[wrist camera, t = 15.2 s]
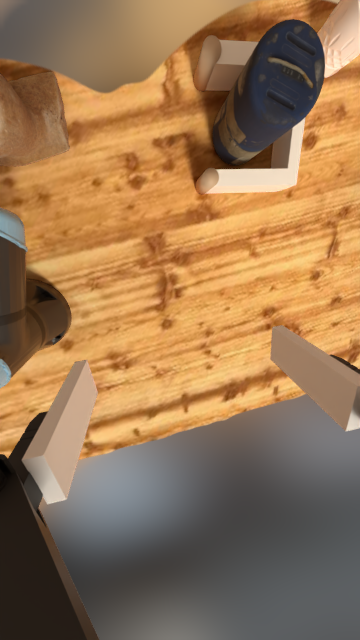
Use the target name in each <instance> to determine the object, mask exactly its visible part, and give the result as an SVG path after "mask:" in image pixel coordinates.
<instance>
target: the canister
mask: <svg viewBox="0 0 360 640" xmlns="http://www.w3.org/2000/svg"><path fill="white" fill-rule="evenodd" d="M324 74H325V55H324V50H323V46H322V43H321V41H320V38H319V36H318V35H317V33H316V32H315V31H314V29H313V28H312V27H311V26H310V25H308V24H307V23H305V22H303V21H300V20H294V19H292V20H285V21H282V22H280V23H278V24H276V25H275V26H273V27H272V28H271V29H270V30H268V31H267V32H266V34H265V35H264V36H263V37H262V38H261V40H260V41H259V43H258V44H257V46H256V47H255V49H254V51H253V52H252V54H251V56H250V58H249V59H248V61H247V63H246V64H245V66H244V68H243V70H242V71H241V73H240V75H239V77H238V78H237V80H236V82H235V83H234V85H233V87H232V89H231V91H230V93H229V95H228V97H227V98H226V100H225V102H224V104H223V106H222V107H221V109H220V111H219V113H218V115H217V117H216V119H215V122H214V126H213V144H214V148H215V150H216V152H217V154H218V156H219V157H220V158H221V159H222V160H223V161H224V162H226V163H227V164H230V165H241V164H244V163H246V162H248V161H249V160H250V159H252V158H253V157H254V156H256V155H257V154H258V153H260V152H261V151H262V150H264V149H265V148H267V147H268V146H269V145H271V144H272V143H273V142H274V141H276V140H277V139H278V138H280V137H281V136H282V135H284V134H285V133H286V132H288V131H289V130H290V129H292V128H293V127H294V126H296V125H297V124H298V123H300V122H301V121H302V120H303V119H304V118H305V117H306V116H307V114H308V113H309V112H310V111H311V109H312V108H313V106H314V104H315V103H316V101H317V99H318V96H319V94H320V91H321V88H322V85H323V81H324Z"/></svg>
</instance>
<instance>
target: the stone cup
mask: <svg viewBox="0 0 360 640" xmlns="http://www.w3.org/2000/svg"><path fill="white" fill-rule="evenodd" d="M69 149H70V147H69V144H68V133H67V127H66V120H65V117H64V105H63V101H62V97H61V93H60V89H59V87H58V83H57V79H56V77H55V75H54V73H52V72H46V73H40V74H36V75H32V76H27V77H23V78H20V79H18V80H15V81H9V82H8V81H7V80H6V79H5V78H4V77H3V76H2V75H1V74H0V165H3V166H23V165H27V164H31V163H34V162H37V161H40V160H43V159H46V158H49V157H52V156H54V155H57V154H60V153H63V152H66V151H68V150H69Z"/></svg>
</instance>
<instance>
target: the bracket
mask: <svg viewBox="0 0 360 640" xmlns="http://www.w3.org/2000/svg"><path fill="white" fill-rule="evenodd" d="M258 43H259V42H250V41H232V40H219V39H218V38H217V37H216V36H213V35H210V36H208V37H207V38H206V39H205V40H204V42H203V46H202V49H201V53H200V57H199V60H198V64H197V67H196V71H195V75H194V85H195V87H196V89H197V90H199V91H205V90H209V91H231V89H232V87H233V85H234V83H235V82H236V80H237V78H238V77H239V75H240V73H241V71H242V70H243V68H244V66H245V64H246V63H247V61H248V59H249V58H250V56H251V54H252V52H253V51H254V49H255V47H256V46H257V44H258ZM304 123H305V118H304V119H303V120H302V121H301V122H300V123H298V124H297V125H296V126H294V127H293V128H292V129H290V130H289V131H288V132H286V133H285V134H284V135H282V136H281V137H280V138H278V139H277V140H276V141H274V142H273V150H272V160H271V169H214V168H208V169H206V170H205V172H204V173H203V174H202V175H201V176H200V178H199V179H198V180H197V181H196V184H195V189H196V191H197V192H198V193H199V194H205V193H244V192H278V191H281V190H283V189H286V188H289V187H292V186H294V185H296V183H297V175H298V168H299V160H300V153H301V146H302V138H303V131H304Z"/></svg>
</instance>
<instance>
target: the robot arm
mask: <svg viewBox="0 0 360 640" xmlns="http://www.w3.org/2000/svg"><path fill="white" fill-rule="evenodd" d="M27 251H28V249H27V247H26V245H25V230H24V225H23V223H22V221H21V220H20V218H19V217H18V216H17V215H15V214H14V213H12V212H10V211H8V210H6V209H3V208H1V207H0V388H1V387H3V386H5V385H6V384H7V383H8V382H9V380H10V378H11V377H12V376H13V375H14V374H15V373H16V372H17V371H18V370H19V369H20V368H21V367H22V366H23V365H24V364H25V363H26V362H27V361H28V360H29V359H30V358H31V357H32V356H33V355H34V354H35V353H36V352H37V351H39V350H42V349H44V348H47V347H50V346H52V345H54V344H56V343H57V342H58V341H60V340H61V339H62V338H63V337H64V335H65V334H66V333H67V331H68V330H69V328H70V325H71V311H70V308H69V305H68V303H67V302H66V300H65V299H64V297H63V296H62V295H61V294H60V293H59V292H58V291H57V290H56V289H54V288H53V287H51V286H50V285H48V284H46V283H43V282H40V281H37V280H32V279H26V252H27ZM270 359H271V360H272V361H273V362H274V363H275V364H276V365H277V366H278V367H279V368H280V369H281V370H282V371H283V372H284V373H285V374H286V375H287V376H289V377H290V378H291V379H292V380H293V381H294V382H295V383H296V384H297V385H298V386H299V387H300V388H301V389H302V390H303V391H304V392H305V393H306V394H307V395H309V397H310V398H312V399H313V400H314V401H315V402H316V403H317V404H318V405H319V406H320V407H321V408H322V409H323V410H324V411H325V412H326V413H327V414H328V415H329V416H330V417H331V418H332V419H333V420H334V421H336V422H337V423H338V424H339V425H340V426H341V427H342V428H343V429H344V430H345V431H349V430H353V429H358V428H360V369H358V368H357V367H355V366H354V365H351V364H350V363H349V362H347V361H345V360H344V359H342V358H339V357H337V356H334V355H328V354H327V353H325V352H324V351H322V350H320V349H319V348H317V347H316V346H314V345H312V344H311V343H309V342H308V341H306V340H305V339H303V338H301V337H300V336H298V335H297V334H295V333H294V332H292V331H290V330H289V329H287V328H286V327H284V326H282V325H281V326H276V327H272V342H271V358H270ZM97 394H98V392H97V389H96V386H95V382H94V379H93V376H92V373H91V370H90V367H89V364H88V361H87V360H83V361H78V362H75V363H74V365H73V367H72V369H71V370H70V372H69V374H68V376H67V378H66V380H65V381H64V383H63V385H62V387H61V389H60V391H59V392H58V394H57V396H56V398H55V400H54V402H53V403H52V405H51V407H50V409H49V411H47V412H42V413H39V414H38V415H37V416H36V417H35V418H34V419H33V420H32V421H31V422H30V423H29V425H28V427H27V428H26V430H25V433H23V435H22V437H21V438H20V441H18V443H17V445H16V446H15V448H14V450H13V451H12V453H11V455H10V456H9V458H7V457H6V456H5V455H3V454H0V640H99V638H98V636H97V634H96V631H95V629H94V627H93V625H92V623H91V620H90V618H89V617H88V614H87V612H86V610H85V607H84V605H83V603H82V601H81V599H80V596H79V594H78V592H77V590H76V588H75V585H74V584H73V581H72V579H71V577H70V575H69V572H68V570H67V568H66V566H65V563H64V561H63V559H62V557H61V555H60V552H59V550H58V548H57V546H56V544H55V542H54V539H53V537H52V535H51V533H50V531H49V528H48V526H47V524H46V522H45V520H44V518H43V515H42V513H41V511H40V510H39V508H38V507H39V504H40V502H41V499H42V496H43V497H44V499H45V500H46V502H47V504H50V503H54V502H58V501H62V500H66V499H67V497H68V493H69V490H70V486H71V483H72V480H73V476H74V473H75V469H76V466H77V462H78V459H79V456H80V452H81V449H82V445H83V442H84V438H85V435H86V432H87V428H88V425H89V421H90V418H91V414H92V411H93V408H94V404H95V401H96V397H97Z"/></svg>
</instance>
